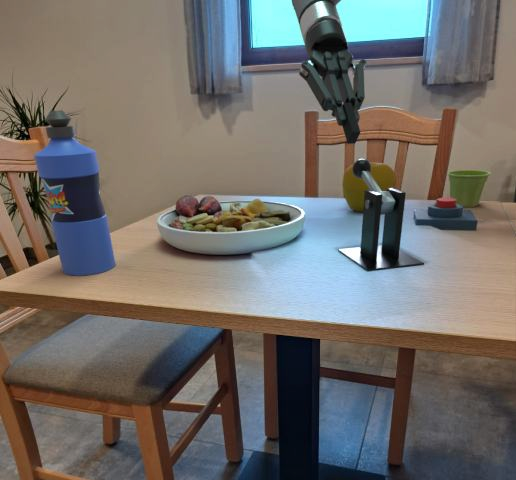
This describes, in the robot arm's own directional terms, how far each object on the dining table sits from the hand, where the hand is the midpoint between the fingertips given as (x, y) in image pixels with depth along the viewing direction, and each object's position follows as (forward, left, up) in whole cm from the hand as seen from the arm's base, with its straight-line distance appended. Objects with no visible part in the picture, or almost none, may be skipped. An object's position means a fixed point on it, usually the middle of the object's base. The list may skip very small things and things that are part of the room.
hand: (353, 137), depth 82 cm
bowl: (+24, -1, -19) cm, 31 cm away
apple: (-2, -32, -19) cm, 37 cm away
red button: (-19, -18, -15) cm, 30 cm away
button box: (-19, -18, -19) cm, 32 cm away
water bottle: (+44, +21, -19) cm, 52 cm away
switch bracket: (-6, +11, -19) cm, 23 cm away
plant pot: (-25, -34, -19) cm, 46 cm away
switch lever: (-4, +7, -8) cm, 11 cm away
